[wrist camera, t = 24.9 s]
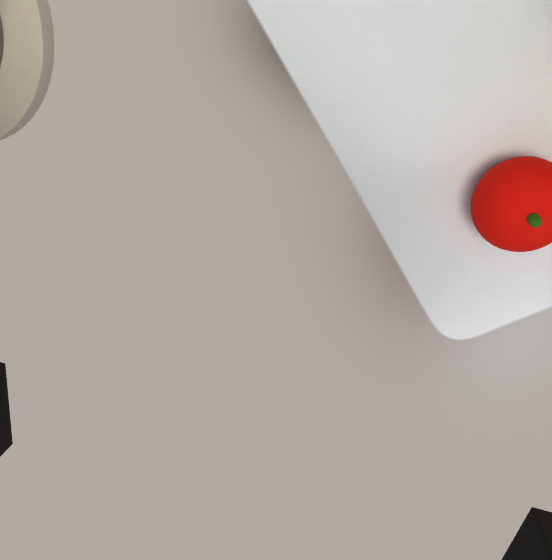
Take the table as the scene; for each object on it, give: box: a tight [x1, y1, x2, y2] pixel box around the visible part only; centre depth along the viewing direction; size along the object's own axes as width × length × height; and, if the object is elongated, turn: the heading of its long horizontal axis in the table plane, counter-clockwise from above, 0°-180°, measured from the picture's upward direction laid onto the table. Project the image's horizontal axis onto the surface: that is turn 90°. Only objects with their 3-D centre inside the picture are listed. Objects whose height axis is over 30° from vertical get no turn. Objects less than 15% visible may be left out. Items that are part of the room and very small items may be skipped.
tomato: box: [471, 157, 552, 252], centre depth 37 cm, size 7×7×8 cm
